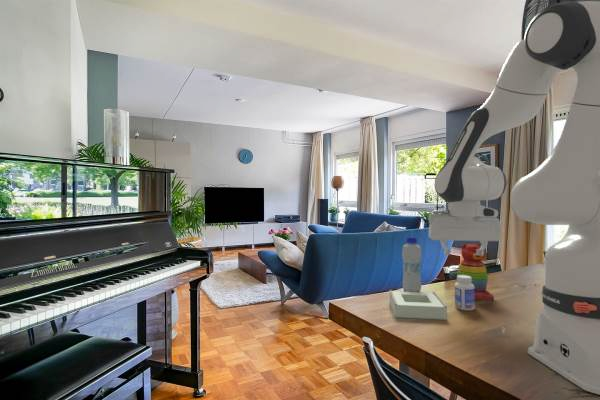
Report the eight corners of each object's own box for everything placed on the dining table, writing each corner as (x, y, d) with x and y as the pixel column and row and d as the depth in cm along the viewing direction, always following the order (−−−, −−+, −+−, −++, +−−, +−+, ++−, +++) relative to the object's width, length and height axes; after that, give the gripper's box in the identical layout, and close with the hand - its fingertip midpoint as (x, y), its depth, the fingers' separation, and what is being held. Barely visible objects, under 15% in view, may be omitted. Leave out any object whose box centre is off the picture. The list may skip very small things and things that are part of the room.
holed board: (447, 319, 92) (447, 306, 92) (395, 317, 94) (395, 303, 94) (434, 303, 106) (434, 291, 106) (389, 301, 108) (389, 290, 108)
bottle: (407, 288, 123) (407, 235, 123) (425, 292, 118) (424, 236, 118) (398, 292, 118) (398, 236, 118) (416, 296, 114) (416, 238, 114)
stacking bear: (461, 299, 110) (461, 246, 110) (451, 291, 120) (451, 242, 120) (496, 300, 109) (495, 246, 108) (482, 292, 119) (482, 242, 119)
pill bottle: (475, 307, 102) (475, 275, 102) (473, 312, 98) (473, 279, 98) (456, 304, 105) (455, 273, 105) (453, 309, 101) (453, 277, 101)
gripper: (430, 210, 100) (430, 256, 100) (504, 211, 97) (503, 257, 97) (426, 209, 106) (425, 252, 107) (494, 209, 103) (494, 253, 103)
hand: (463, 255), depth 102 cm, fingers open, 8 cm apart
